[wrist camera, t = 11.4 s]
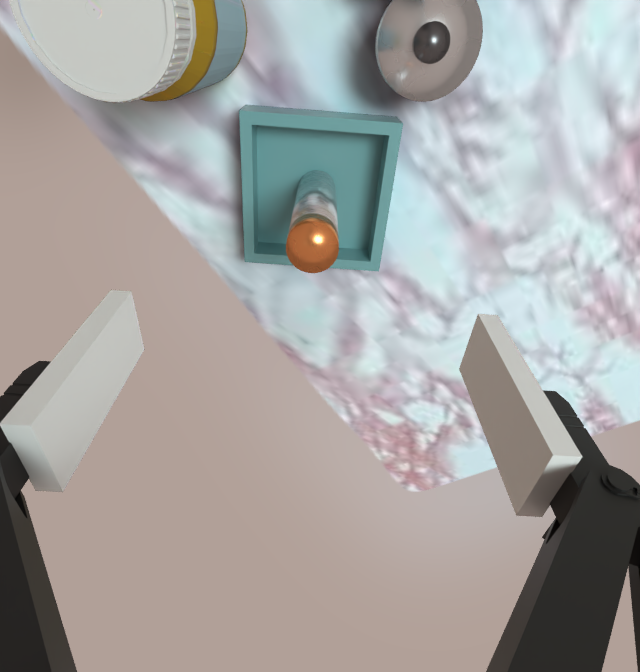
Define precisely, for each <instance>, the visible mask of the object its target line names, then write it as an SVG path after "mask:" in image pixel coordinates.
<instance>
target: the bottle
mask: <svg viewBox="0 0 640 672" xmlns="http://www.w3.org/2000/svg"><path fill="white" fill-rule="evenodd" d="M9 2H10V6H11V9H12V12H13V15H14V17H15V20H16V22H17V24H18V27H19V29H20V31H21V33H22V35H23V36H24V38H25V40H26V42H27V43H28V45H29V46H30V48H31V49H32V51H33V52H34V53H35V55H36V56H37V57H38V59H39V60H40V61H41V62H42V63H43V65H44V66H45V67H46V68H47V69H48V70H49V71H50V72H51V73H52V74H53V75H54V76H56V77H57V78H58V79H59V80H60V81H62V82H63V83H64V84H66V85H67V86H69V87H70V88H72V89H74V90H75V91H77V92H79V93H81V94H83V95H86V96H87V97H91V98H94V99H95V100H102V101H104V102H112V103H117V102H120V103H124V102H131V101H135V100H138V99H141V100H144V101H167V100H171V99H175V98H178V97H181V96H183V95H186V94H189V93H191V92H194V91H197V90H199V89H202V88H205V87H207V86H210V85H213V84H215V83H217V82H219V81H221V80H223V79H224V78H226V77H227V76H228V75H229V74H230V73H231V72H232V71H233V70H234V69H235V68H236V67H237V65H238V64H239V61H240V59H241V57H242V55H243V52H244V49H245V45H246V37H247V22H246V13H245V8H244V5H243V2H242V0H9Z"/></svg>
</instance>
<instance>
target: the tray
mask: <svg viewBox="0 0 640 672" xmlns="http://www.w3.org/2000/svg"><path fill="white" fill-rule="evenodd" d="M239 118H240V146H241V174H242V202H243V229H244V257H245V262H253V263H267V264H282V265H293V264H292V263H291V262H290V260H289V258H288V256H287V253H286V242H287V237H288V232H289V228H290V223H291V218H292V213H293V209H294V204H295V199H296V194H297V190H298V185H299V182H300V180H301V178H302V177H303V176H304V175H305V174H306V173H308V172H310V171H314V170H319V171H323V172H326V173H327V174H329V175H330V176H331V177H332V179H333V180H334V183H335V186H336V201H337V221H338V240H339V252H338V256H337V259H336V261H335V262H334V263H333V265H332V266H330V267H329V268H339V269H353V270H368V271H379V267H380V261H381V255H382V249H383V243H384V237H385V231H386V224H387V218H388V212H389V206H390V200H391V194H392V188H393V182H394V176H395V170H396V163H397V157H398V151H399V145H400V139H401V133H402V127H403V123H402V122H401V121H400V119H399V118H398V117H393V116H380V115H368V114H355V113H343V112H330V111H318V110H305V109H293V108H280V107H268V106H255V105H245V106H244V107H243V108H242V109H240V110H239Z"/></svg>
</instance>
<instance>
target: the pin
mask: <svg viewBox="0 0 640 672" xmlns="http://www.w3.org/2000/svg"><path fill="white" fill-rule="evenodd" d="M338 252H339V240H338V221H337V201H336V186H335V183H334V180H333V179H332V177H331V176H330V175H329V174H327V173H326V172H323V171H319V170H314V171H310V172H308V173H306V174H305V175H304V176H303V177H302V178H301V180H300V182H299V185H298V190H297V194H296V199H295V204H294V209H293V213H292V218H291V223H290V228H289V232H288V237H287V242H286V253H287V256H288V258H289V260H290V262H291V263H292V264H293V265H294V266H295V267H296V268H298V269H299V270H301V271H304V272H308V273H318V272H322V271H324V270H326V269H328V268H329V267H330V266H332V265H333V263H334V262H335V261H336V259H337V256H338Z"/></svg>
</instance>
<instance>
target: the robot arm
mask: <svg viewBox="0 0 640 672" xmlns="http://www.w3.org/2000/svg"><path fill="white" fill-rule="evenodd" d="M143 351H144V345H143V340H142V336H141V331H140V327H139V322H138V318H137V314H136V309H135V304H134V300H133V295H132V292H131V291H120V290H110V292H109V293H108V294H107V295H106V297H105V298H104V299H103V300H102V301H101V302H100V304H99V305H98V306H97V307H96V308H95V310H94V311H93V312H92V313H91V314H90V316H89V317H88V318H87V319H86V321H85V322H84V323H83V324H82V325H81V326H80V328H79V329H78V330H77V331H76V332H75V334H74V335H73V336H72V337H71V338H70V340H69V341H68V342H67V343H66V344H65V346H64V347H63V348H62V349H61V350H60V352H59V353H58V354H57V355H56V356H55V358H54V359H53V360H52V361H51V362H49V361H48V362H47V361H38V362H37V363H35V364H34V365H32V366H31V367H29V368H27V369H26V370H24V371H23V372H22V373H21V374H20V376H18V378H17V379H16V380H15V381H14V382H13V385H11V386H10V387H9V388H8V389H7V390H6V391H5V392H4V395H3V396H1V397H0V672H77V670H76V667H75V664H74V660H73V657H72V654H71V651H70V647H69V644H68V640H67V637H66V634H65V630H64V627H63V624H62V621H61V617H60V614H59V611H58V607H57V604H56V600H55V597H54V594H53V590H52V587H51V584H50V581H49V577H48V574H47V571H46V567H45V564H44V561H43V557H42V554H41V551H40V547H39V544H38V541H37V537H36V534H35V531H34V527H33V524H32V521H31V518H30V514H29V511H28V507H27V504H26V501H25V498H24V495H23V494H22V492H21V489H22V488H23V486H24V485H25V483H26V482H27V480H28V479H30V481H31V483H32V485H33V486H34V489H35V490H36V491H53V492H63V491H64V489H65V488H66V486H67V484H68V482H69V480H70V479H71V477H72V475H73V474H74V472H75V470H76V468H77V466H78V465H79V463H80V461H81V460H82V458H83V456H84V454H85V453H86V451H87V449H88V447H89V446H90V444H91V442H92V440H93V439H94V437H95V435H96V433H97V432H98V430H99V428H100V426H101V425H102V423H103V421H104V419H105V418H106V416H107V414H108V412H109V411H110V409H111V407H112V405H113V404H114V402H115V400H116V398H117V397H118V395H119V393H120V391H121V390H122V388H123V386H124V384H125V382H126V381H127V379H128V377H129V375H130V374H131V372H132V370H133V369H134V367H135V365H136V363H137V362H138V360H139V358H140V356H141V355H142V353H143ZM459 370H460V372H461V375H462V377H463V380H464V382H465V385H466V388H467V390H468V393H469V395H470V398H471V400H472V403H473V405H474V408H475V411H476V413H477V416H478V418H479V421H480V423H481V426H482V429H483V431H484V434H485V436H486V439H487V441H488V444H489V446H490V449H491V452H492V454H493V457H494V459H495V462H496V464H497V467H498V469H499V472H500V475H501V477H502V480H503V482H504V485H505V487H506V490H507V492H508V495H509V498H510V500H511V503H512V505H513V508H514V510H515V513H516V515H517V516H535V517H542V516H543V515H544V513H545V512H546V510H547V509H548V507H549V506H550V505H551V507H552V509H553V512H554V514H555V516H556V518H555V520H554V521H553V523H552V524H551V526H550V527H549V528H548V530H547V531H546V532H545V534H544V535H543V537H542V538H544V539H545V540H544V542H543V545H542V547H541V549H540V551H539V554H538V556H537V558H536V560H535V563H534V565H533V567H532V569H531V572H530V574H529V576H528V578H527V581H526V583H525V585H524V587H523V590H522V592H521V594H520V596H519V599H518V601H517V603H516V605H515V608H514V610H513V612H512V615H511V617H510V619H509V622H508V624H507V626H506V628H505V630H504V632H503V635H502V637H501V640H500V641H499V644H498V646H497V648H496V650H495V653H494V655H493V657H492V659H491V662H490V664H489V666H488V669H487V671H486V672H601V671H602V667H603V663H604V659H605V655H606V651H607V647H608V644H609V639H610V636H611V632H612V628H613V624H614V620H615V616H616V612H617V608H618V604H619V600H620V596H621V592H622V588H623V584H624V580H625V576H626V572H627V569H628V566H629V577H630V587H631V599H632V610H633V621H634V632H635V644H636V655H637V665H638V672H640V485H639V484H638V483H637V482H636V481H635V480H634V479H633V478H632V477H631V476H630V475H628V474H627V473H625V472H624V471H622V470H621V469H618V468H616V467H613V466H610V465H609V464H608V463H607V461H606V459H605V458H604V456H603V455H602V453H601V452H600V450H599V449H598V447H597V445H596V444H595V442H594V441H593V439H592V438H591V436H590V435H589V433H588V432H587V430H586V428H584V427H583V426H584V425H583V424H582V422H581V421H580V419H579V418H577V415H576V413H575V412H574V410H573V408H572V407H571V405H570V404H569V403H568V402H567V401H566V400H565V399H564V398H563V397H561V396H560V395H559V394H558V393H557V392H556V391H543V390H542V388H541V387H540V385H539V383H538V382H537V380H536V378H535V377H534V375H533V373H532V372H531V370H530V368H529V367H528V365H527V363H526V362H525V360H524V358H523V357H522V355H521V353H520V352H519V350H518V348H517V347H516V345H515V343H514V342H513V340H512V338H511V337H510V335H509V333H508V332H507V330H506V328H505V327H504V325H503V323H502V322H501V320H500V318H499V317H498V315H485V314H478V316H477V319H476V322H475V324H474V327H473V330H472V333H471V336H470V339H469V342H468V345H467V348H466V351H465V354H464V357H463V359H462V362H461V365H460V368H459Z"/></svg>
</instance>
